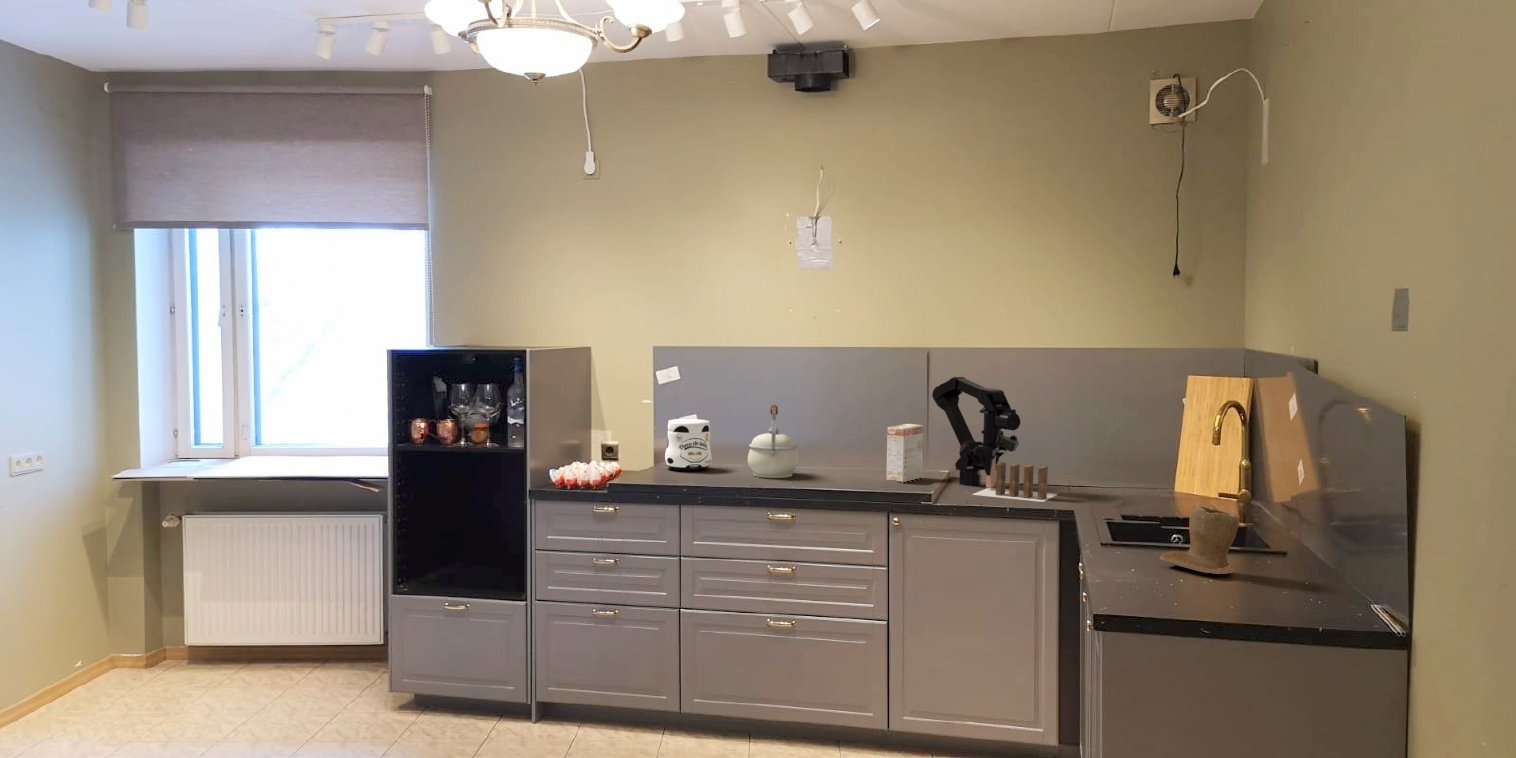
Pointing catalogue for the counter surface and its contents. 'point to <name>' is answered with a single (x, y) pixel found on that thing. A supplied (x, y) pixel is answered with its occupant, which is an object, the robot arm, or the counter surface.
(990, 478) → the domino
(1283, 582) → the counter surface
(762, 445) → the kettle
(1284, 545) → the counter surface
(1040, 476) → the domino
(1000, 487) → the domino
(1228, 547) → the brown hat
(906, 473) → the coffeecake box
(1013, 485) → the domino
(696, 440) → the doce de leite jar
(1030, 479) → the domino
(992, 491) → the domino mat
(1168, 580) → the counter surface
